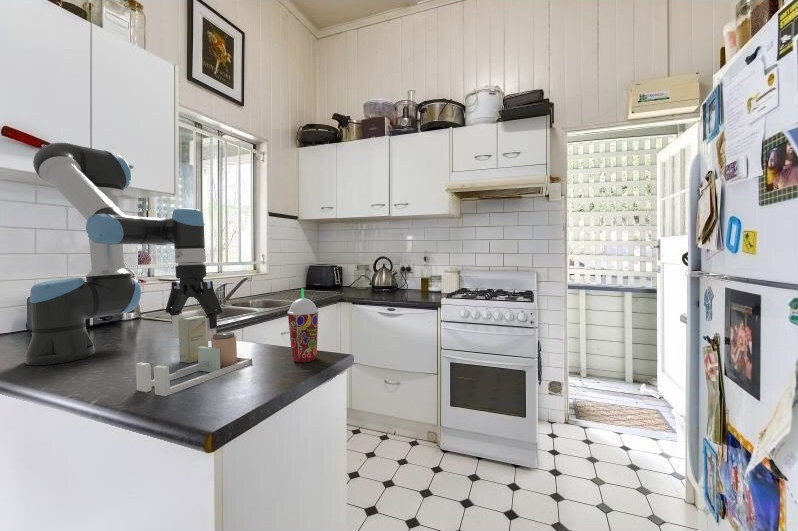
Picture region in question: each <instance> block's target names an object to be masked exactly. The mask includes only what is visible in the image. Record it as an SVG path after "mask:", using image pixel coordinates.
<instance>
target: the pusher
mask: <svg viewBox="0 0 798 531" xmlns="http://www.w3.org/2000/svg"><path fill="white" fill-rule="evenodd" d="M197 369H199V370H200V371H201V372H207V373H211V372H214V371H217V370H220V348H212V347H211V346H208V347H204V346H200V347H198V361H197V363H195V364H193V365H189V366H187V367H183V368H179V369H177V370H175V372H176V375H182V374H185V373H188V372H191V371H194V370H197ZM200 371H199V372H200Z"/></svg>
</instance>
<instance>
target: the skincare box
mask: <svg viewBox="0 0 798 531" xmlns="http://www.w3.org/2000/svg"><path fill="white" fill-rule="evenodd" d="M206 316H207V315H206ZM206 316H205V315H195V316H189V317H183V318H182V319H178V324H179V337H178V346H179V347H178V349H179V362H181V363H186V364H187V363H188V364H191V363H194V362H198V347H200V346H204V347H209V341H206V325H205V318H206Z"/></svg>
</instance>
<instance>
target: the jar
mask: <svg viewBox="0 0 798 531" xmlns="http://www.w3.org/2000/svg"><path fill="white" fill-rule="evenodd" d="M210 344H211V346H210V347H212V348H220V369H222V368H225V367H228V366H231V365H234V364H236V363H237V356H238V349H237V348H238V347H237V346H238V345H237V344H238V343H237V335H236V334H235V332H233V331H223V332H216V334H214V335H213V337H212V338H211V341H210Z"/></svg>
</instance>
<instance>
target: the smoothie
mask: <svg viewBox="0 0 798 531" xmlns="http://www.w3.org/2000/svg"><path fill="white" fill-rule="evenodd" d="M300 294H301V296H300V297H301V298H298V299H295V300H294V301H293V302H292V303H291V305H290V307H289V309H288V311H287V317H288V328H289V329H288V330H289V331H288V332H289V341H290V349H291V357H292V358H293V361H294V362H296V363H310V362H312V361H314V360H315V359H316V355H317V354H318V335H319V334H318V332H319V331H318V330H319V309H318V308H317V306H316V304H315V303H314V301H312V300H311V299H309V298H306V297H305V291H304V288H301V292H300Z"/></svg>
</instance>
